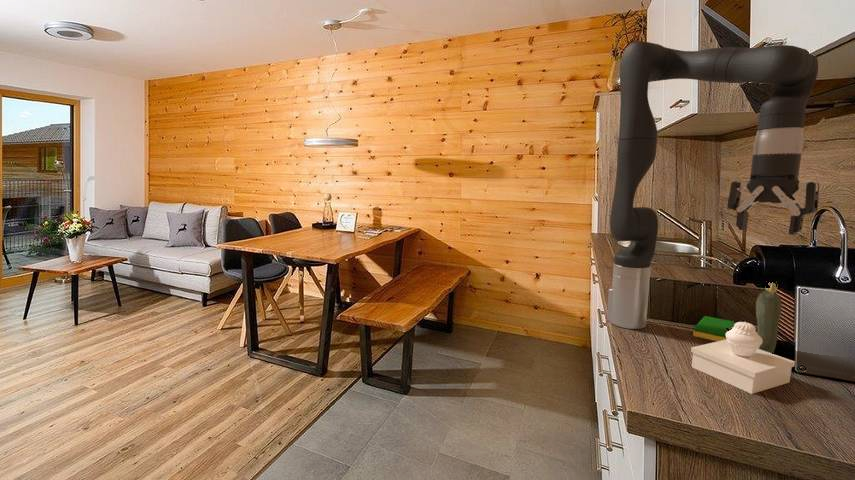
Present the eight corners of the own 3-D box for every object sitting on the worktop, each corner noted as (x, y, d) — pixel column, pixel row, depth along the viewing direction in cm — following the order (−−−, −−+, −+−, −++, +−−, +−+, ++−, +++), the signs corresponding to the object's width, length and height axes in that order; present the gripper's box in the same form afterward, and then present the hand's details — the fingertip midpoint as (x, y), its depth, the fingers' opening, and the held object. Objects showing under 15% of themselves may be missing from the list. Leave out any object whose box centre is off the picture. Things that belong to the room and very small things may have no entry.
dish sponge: (692, 337, 106) (693, 328, 106) (703, 323, 116) (704, 315, 115) (725, 344, 101) (726, 335, 101) (734, 329, 111) (735, 321, 111)
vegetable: (778, 365, 89) (790, 278, 86) (756, 364, 90) (767, 277, 87) (766, 357, 93) (777, 273, 90) (745, 355, 94) (755, 272, 91)
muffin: (741, 360, 81) (745, 326, 80) (716, 348, 87) (719, 317, 86) (768, 359, 82) (772, 326, 81) (741, 348, 88) (745, 317, 87)
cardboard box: (689, 368, 89) (691, 347, 88) (727, 359, 93) (729, 338, 93) (752, 397, 77) (755, 373, 77) (791, 384, 82) (795, 361, 81)
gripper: (831, 151, 77) (818, 234, 80) (743, 154, 89) (735, 227, 92) (816, 150, 73) (804, 237, 76) (727, 154, 85) (719, 229, 88)
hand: (766, 232), depth 84 cm, fingers open, 8 cm apart
